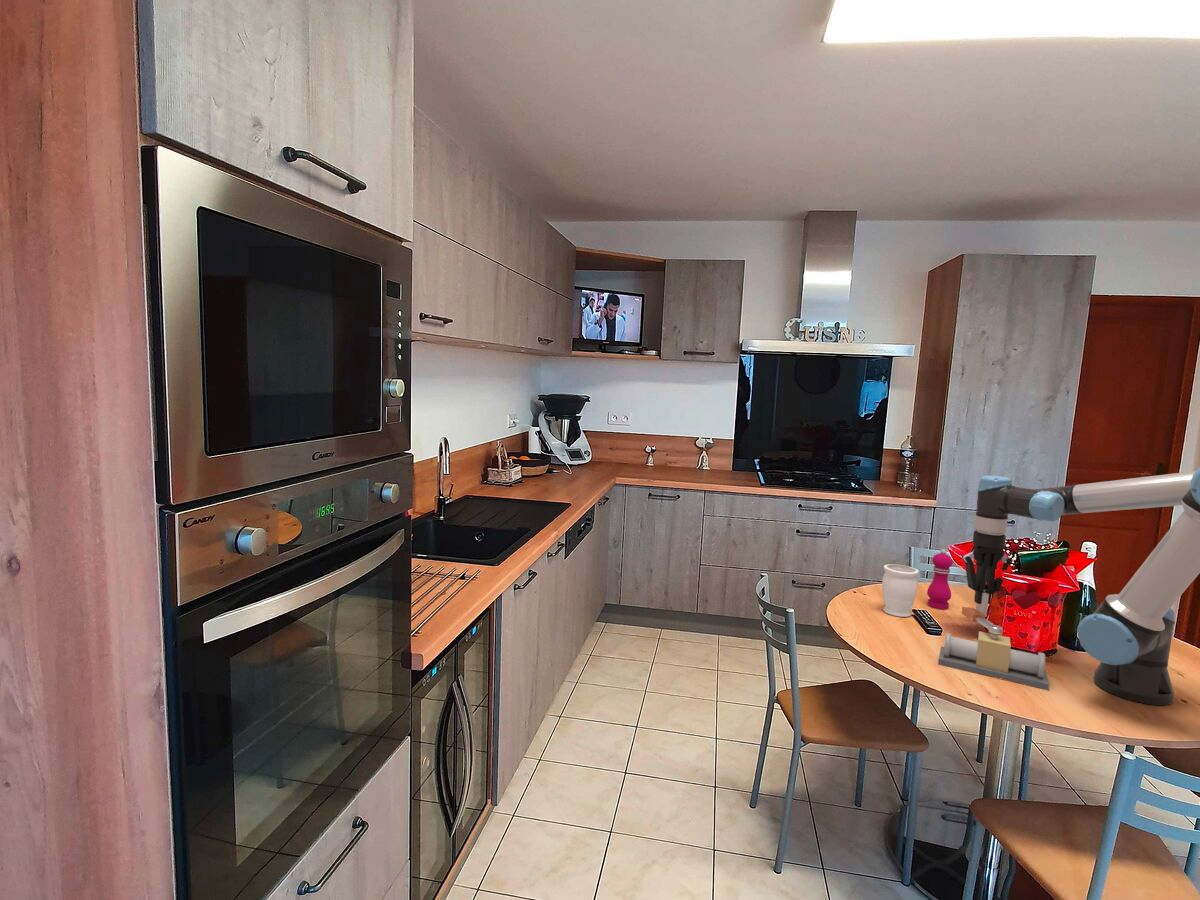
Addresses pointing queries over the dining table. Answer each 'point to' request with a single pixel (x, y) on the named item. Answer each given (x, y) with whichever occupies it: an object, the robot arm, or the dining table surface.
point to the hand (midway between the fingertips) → (981, 614)
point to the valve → (994, 659)
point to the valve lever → (981, 620)
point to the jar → (899, 589)
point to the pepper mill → (940, 582)
